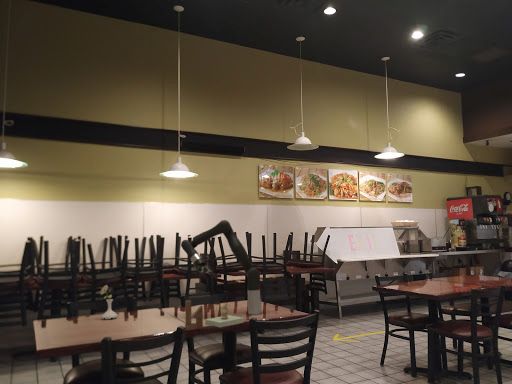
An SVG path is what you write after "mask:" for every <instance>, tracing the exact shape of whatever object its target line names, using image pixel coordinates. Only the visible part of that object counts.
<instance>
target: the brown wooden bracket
mask: <svg viewBox="0 0 512 384" xmlns="http://www.w3.org/2000/svg"><path fill="white" fill-rule="evenodd" d="M184 303H185V307H184V308H185V309H184V310H185V324H184V328H185V327H186V330H185V331H186V332H187V331H194V330H195V331H196V330H202V329H204V324H203V322H204V321H203V320H204V315H203V313H204V312H203V309H204V308H203V307H204V306H203V305H200V306H199V307H198V308H197V310H195V312H194V313H193V314H192V300H191V299H190V300H185V302H184ZM192 319H195V322H192Z"/></svg>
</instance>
